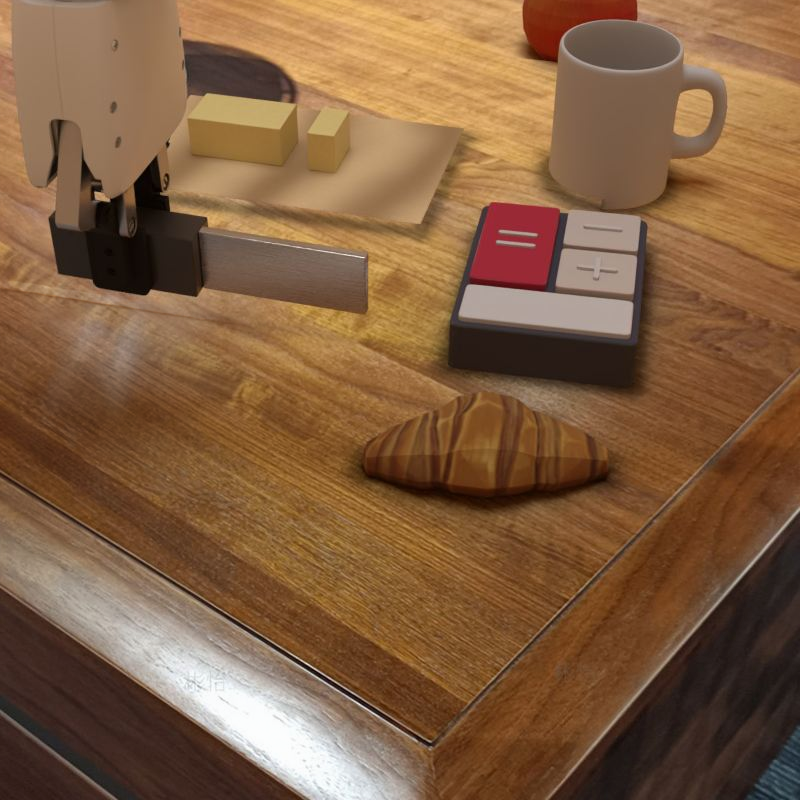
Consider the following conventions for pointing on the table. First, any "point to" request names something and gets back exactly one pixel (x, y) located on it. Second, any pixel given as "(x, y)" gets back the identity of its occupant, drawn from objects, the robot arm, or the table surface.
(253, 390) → the table surface
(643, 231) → the calculator
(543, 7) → the fruit
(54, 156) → the robot arm
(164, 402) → the table surface
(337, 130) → the butter pat
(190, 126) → the butter stick
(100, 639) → the table surface
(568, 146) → the mug
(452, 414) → the croissant
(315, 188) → the butter wrapper
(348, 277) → the knife
